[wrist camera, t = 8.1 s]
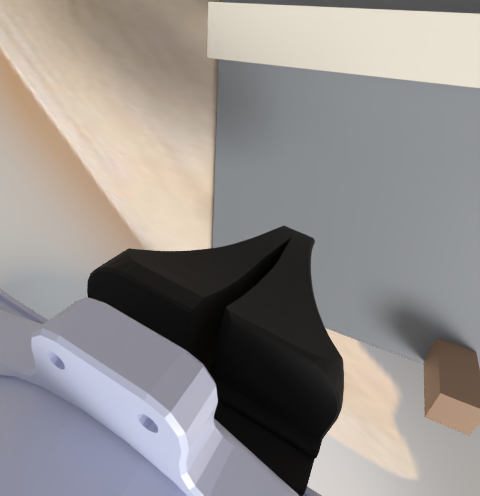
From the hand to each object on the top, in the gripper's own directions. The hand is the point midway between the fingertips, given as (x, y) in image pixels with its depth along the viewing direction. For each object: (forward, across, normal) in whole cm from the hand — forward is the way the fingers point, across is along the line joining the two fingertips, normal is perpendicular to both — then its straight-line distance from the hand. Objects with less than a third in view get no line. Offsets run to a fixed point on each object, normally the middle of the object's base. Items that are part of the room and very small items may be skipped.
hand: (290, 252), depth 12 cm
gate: (+6, -1, -7) cm, 10 cm away
